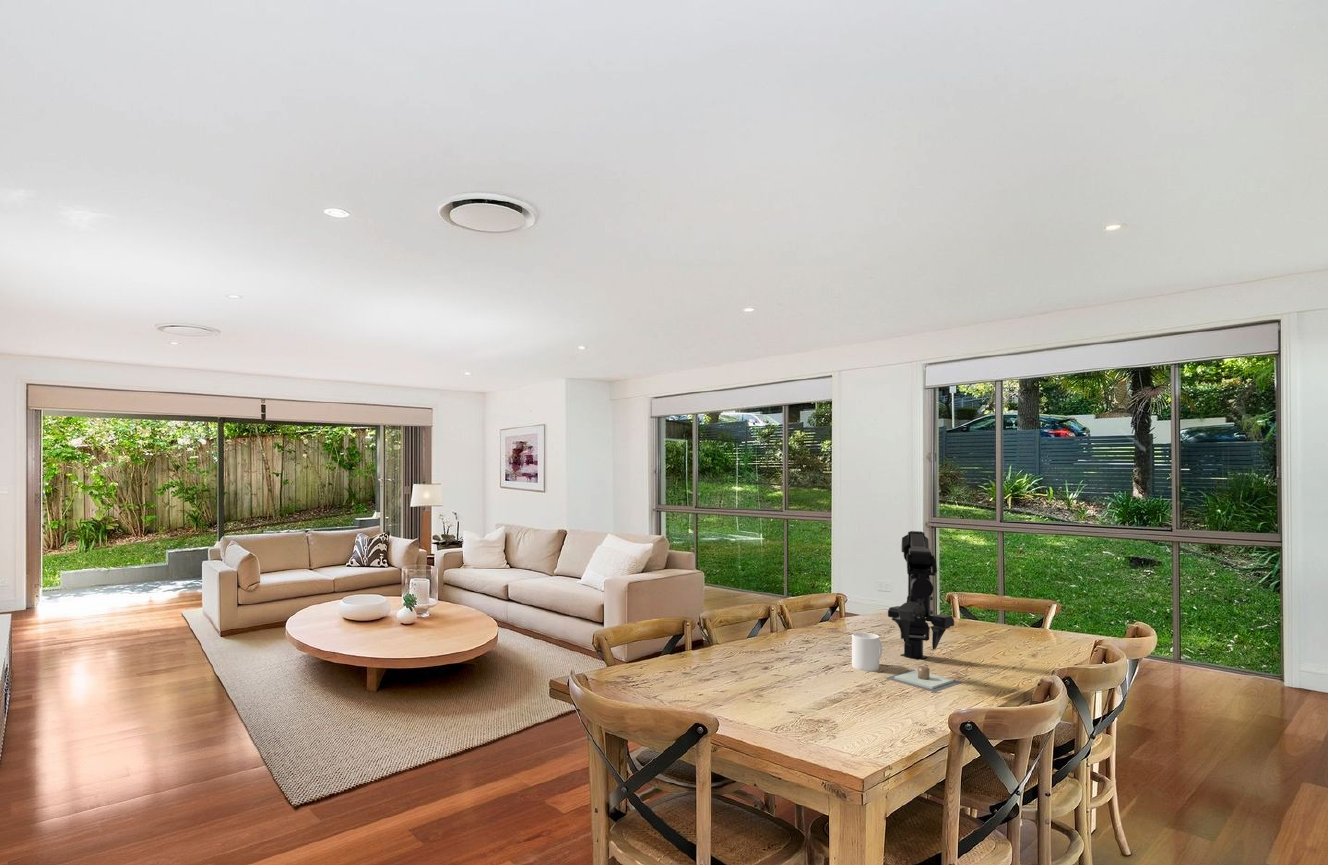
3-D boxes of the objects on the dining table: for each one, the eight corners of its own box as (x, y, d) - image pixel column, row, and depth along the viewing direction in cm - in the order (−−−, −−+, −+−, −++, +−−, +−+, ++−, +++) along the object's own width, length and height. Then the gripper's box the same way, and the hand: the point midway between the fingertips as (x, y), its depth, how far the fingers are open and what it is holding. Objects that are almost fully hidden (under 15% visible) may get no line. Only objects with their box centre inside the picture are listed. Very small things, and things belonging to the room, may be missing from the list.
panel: (916, 672, 211) (916, 660, 211) (953, 681, 202) (953, 669, 202) (894, 678, 204) (894, 666, 204) (931, 688, 194) (931, 676, 195)
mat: (913, 670, 214) (913, 669, 214) (963, 683, 202) (963, 682, 202) (884, 679, 204) (884, 678, 204) (934, 693, 192) (934, 692, 192)
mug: (871, 662, 223) (871, 630, 224) (892, 668, 216) (892, 635, 217) (846, 667, 216) (846, 634, 217) (867, 673, 209) (867, 639, 210)
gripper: (877, 590, 207) (876, 642, 206) (934, 600, 193) (934, 656, 192) (898, 587, 214) (898, 638, 213) (955, 596, 199) (955, 651, 198)
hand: (920, 645), depth 204 cm, fingers open, 9 cm apart
